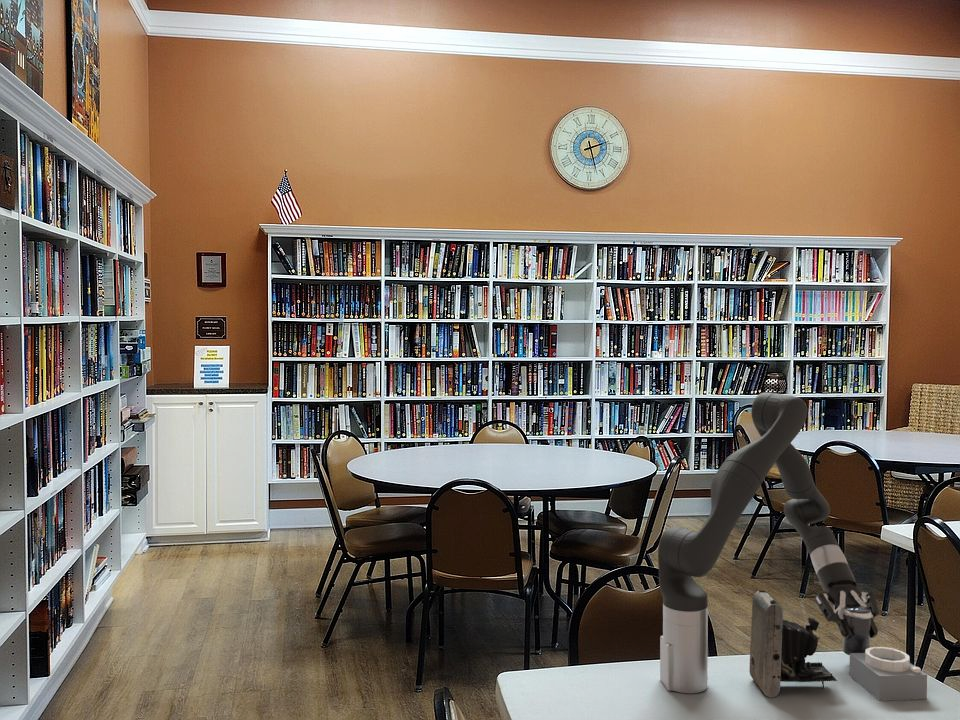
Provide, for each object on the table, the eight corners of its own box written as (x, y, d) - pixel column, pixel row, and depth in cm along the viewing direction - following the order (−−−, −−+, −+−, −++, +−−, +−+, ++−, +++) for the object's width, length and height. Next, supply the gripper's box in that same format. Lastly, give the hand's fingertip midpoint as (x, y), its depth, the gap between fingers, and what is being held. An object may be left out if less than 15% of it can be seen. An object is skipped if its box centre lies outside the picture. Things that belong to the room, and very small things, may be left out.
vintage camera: (838, 701, 167) (841, 604, 167) (762, 698, 168) (765, 601, 167) (819, 682, 177) (823, 590, 177) (747, 679, 177) (751, 587, 177)
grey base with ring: (879, 700, 166) (879, 666, 166) (849, 676, 178) (849, 644, 178) (926, 699, 167) (927, 665, 167) (894, 674, 179) (894, 643, 179)
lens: (850, 657, 182) (851, 612, 181) (838, 648, 187) (839, 604, 187) (875, 657, 182) (876, 612, 182) (862, 647, 188) (862, 604, 187)
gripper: (810, 561, 190) (839, 631, 179) (867, 559, 193) (899, 628, 181) (797, 577, 196) (825, 646, 184) (853, 575, 198) (883, 642, 186)
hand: (861, 636), depth 183 cm, fingers closed on lens, 5 cm apart
